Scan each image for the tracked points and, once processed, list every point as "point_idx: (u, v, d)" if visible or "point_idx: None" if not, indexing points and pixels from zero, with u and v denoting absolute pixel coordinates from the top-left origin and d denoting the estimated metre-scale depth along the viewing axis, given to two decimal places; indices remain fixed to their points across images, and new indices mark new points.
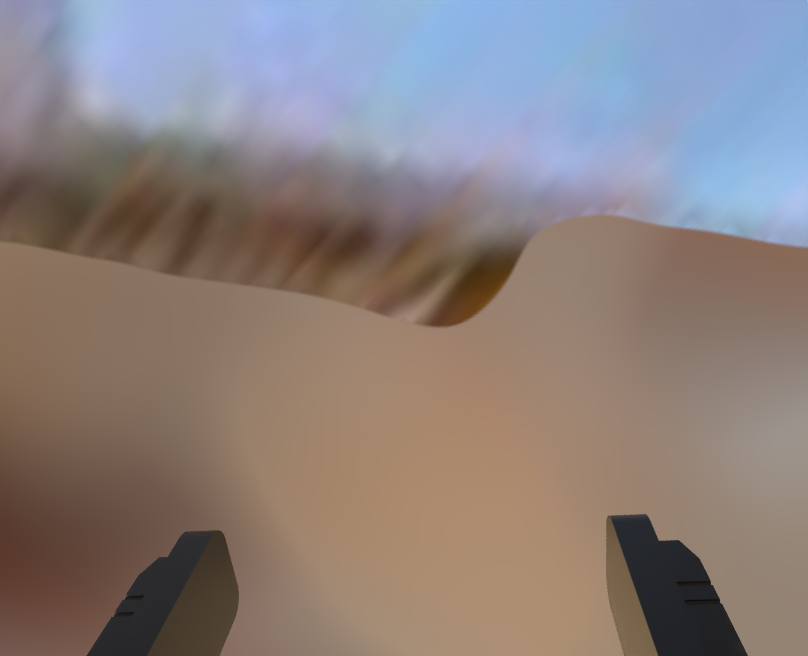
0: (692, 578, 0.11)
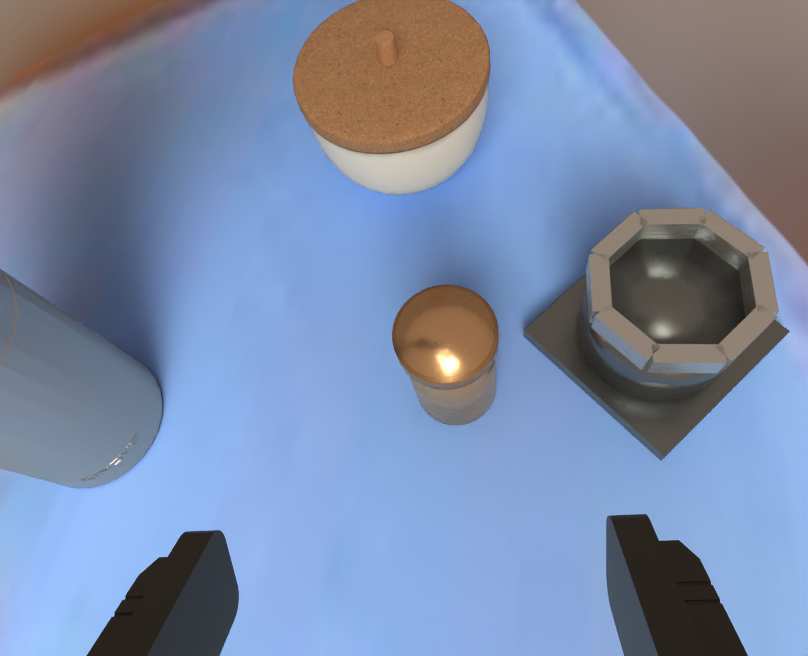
0: (692, 578, 0.11)
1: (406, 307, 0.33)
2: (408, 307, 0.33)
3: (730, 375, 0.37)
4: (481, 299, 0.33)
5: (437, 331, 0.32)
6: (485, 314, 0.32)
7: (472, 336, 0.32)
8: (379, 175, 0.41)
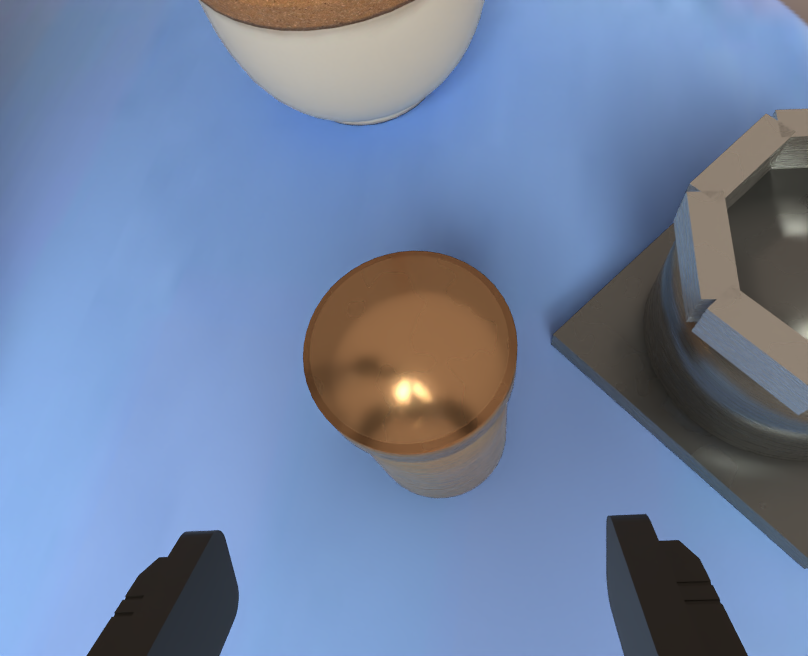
0: (692, 578, 0.11)
1: (333, 295, 0.17)
2: (337, 295, 0.17)
3: None
4: (482, 278, 0.16)
5: (392, 344, 0.16)
6: (489, 308, 0.16)
7: (464, 354, 0.15)
8: (310, 77, 0.24)
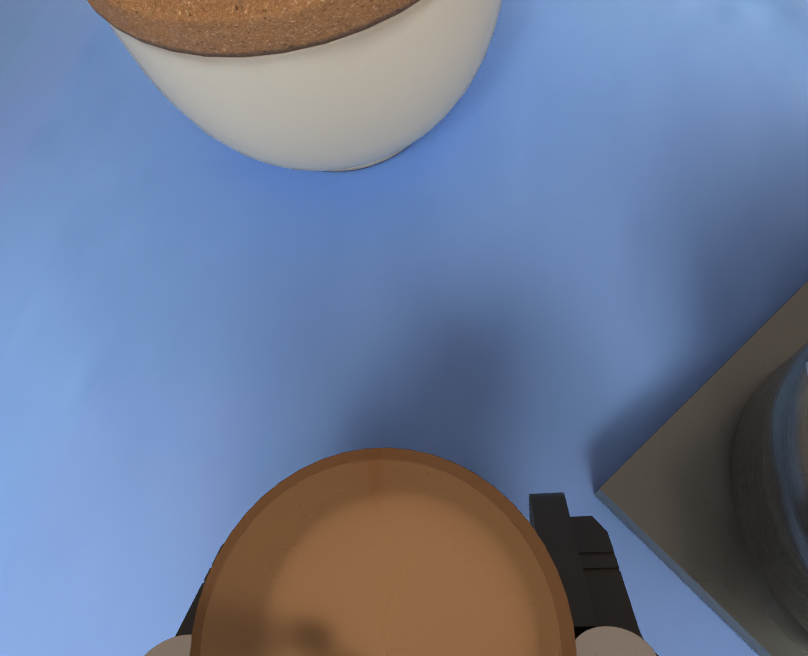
0: (598, 549, 0.12)
1: (246, 534, 0.09)
2: (253, 534, 0.09)
3: None
4: (507, 508, 0.09)
5: (348, 638, 0.09)
6: (524, 572, 0.09)
7: None
8: (256, 120, 0.17)
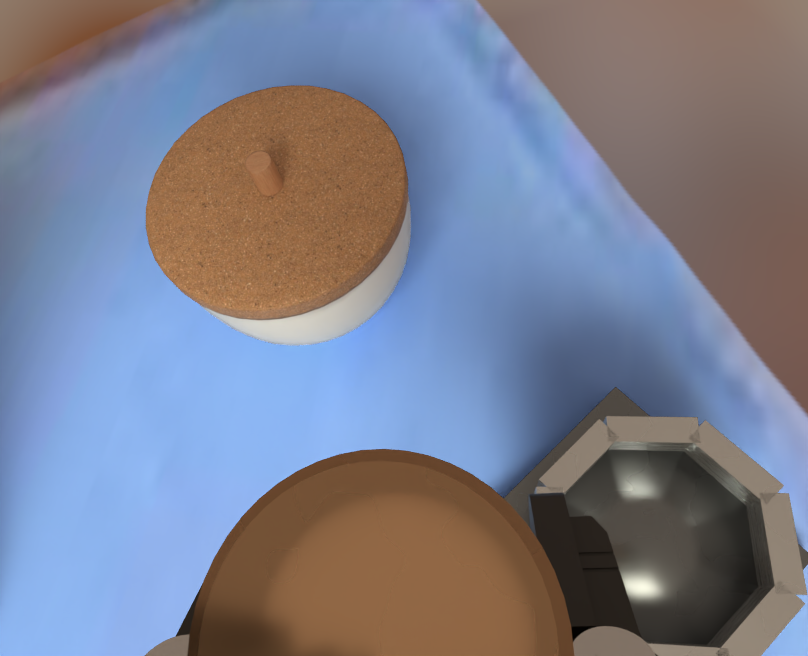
0: (597, 549, 0.12)
1: (244, 536, 0.09)
2: (251, 536, 0.09)
3: None
4: (504, 509, 0.09)
5: (346, 640, 0.09)
6: (521, 574, 0.09)
7: None
8: (264, 335, 0.31)
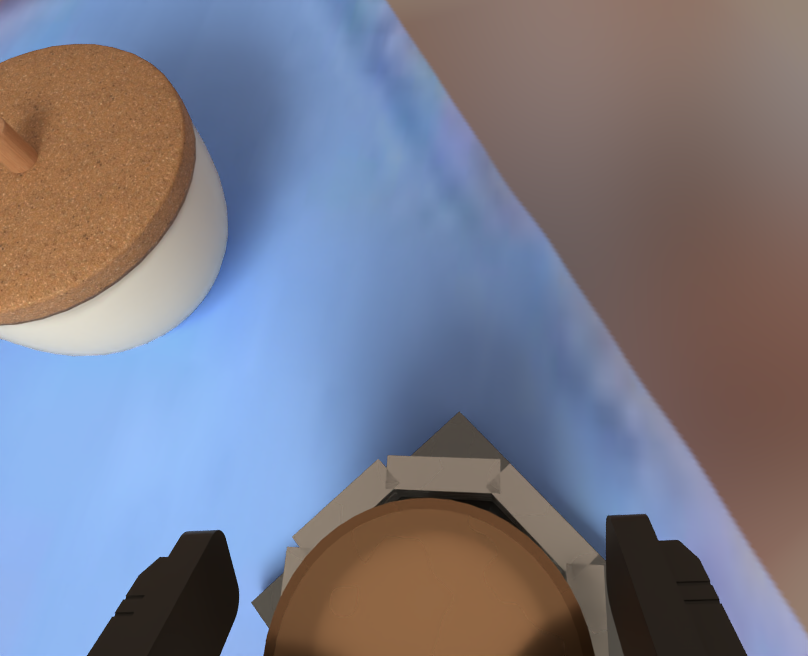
0: (692, 578, 0.11)
1: (309, 574, 0.11)
2: (315, 574, 0.11)
3: None
4: (537, 554, 0.11)
5: None
6: (552, 610, 0.10)
7: None
8: (24, 344, 0.25)
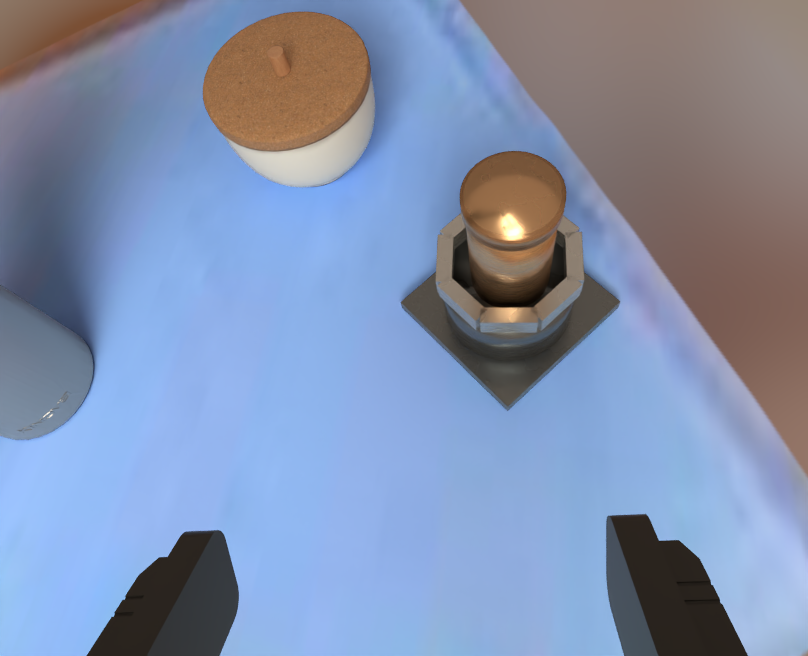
0: (692, 578, 0.11)
1: (473, 172, 0.33)
2: (475, 172, 0.33)
3: (568, 338, 0.44)
4: (548, 163, 0.33)
5: (504, 193, 0.33)
6: (552, 176, 0.33)
7: (540, 196, 0.32)
8: (277, 170, 0.47)
